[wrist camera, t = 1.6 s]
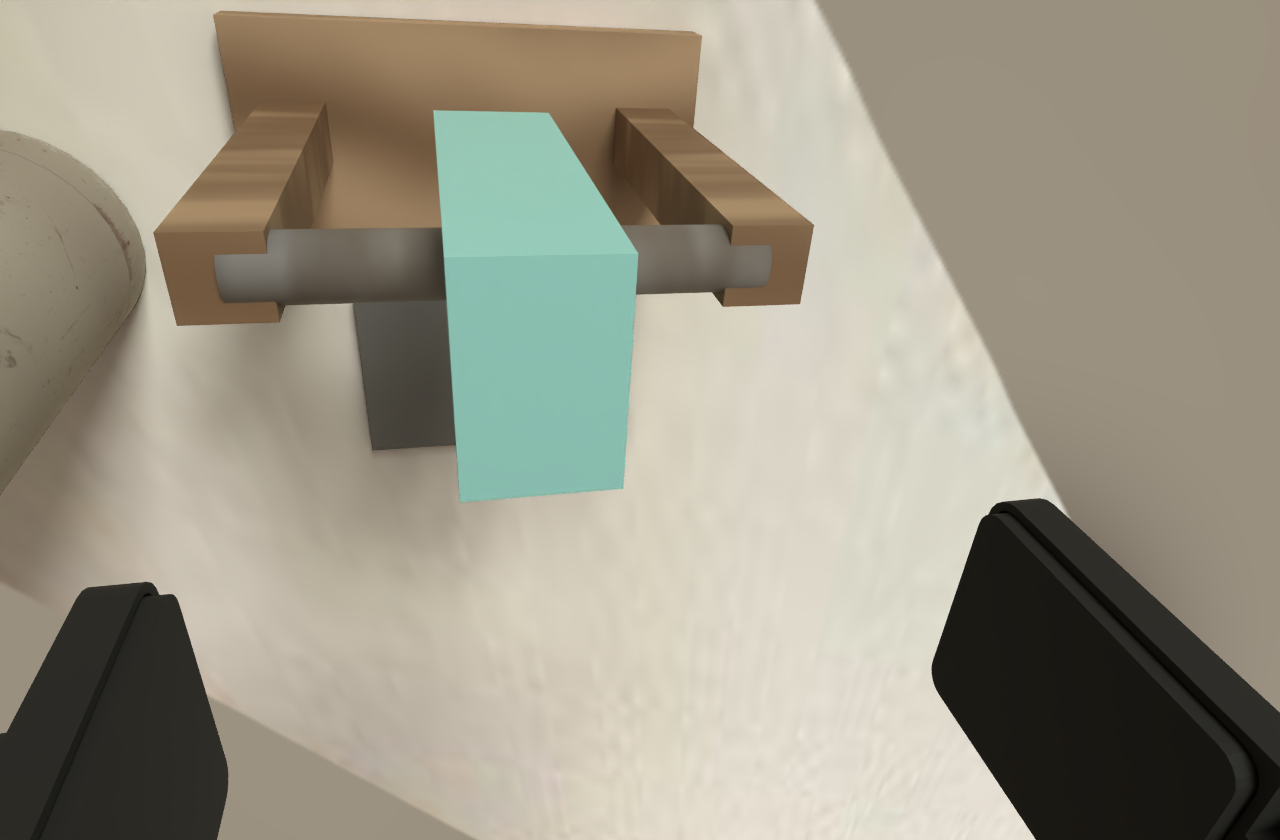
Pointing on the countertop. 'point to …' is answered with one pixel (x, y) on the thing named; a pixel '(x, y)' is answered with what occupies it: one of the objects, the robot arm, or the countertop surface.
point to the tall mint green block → (532, 309)
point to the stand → (407, 165)
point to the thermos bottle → (55, 285)
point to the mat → (406, 373)
